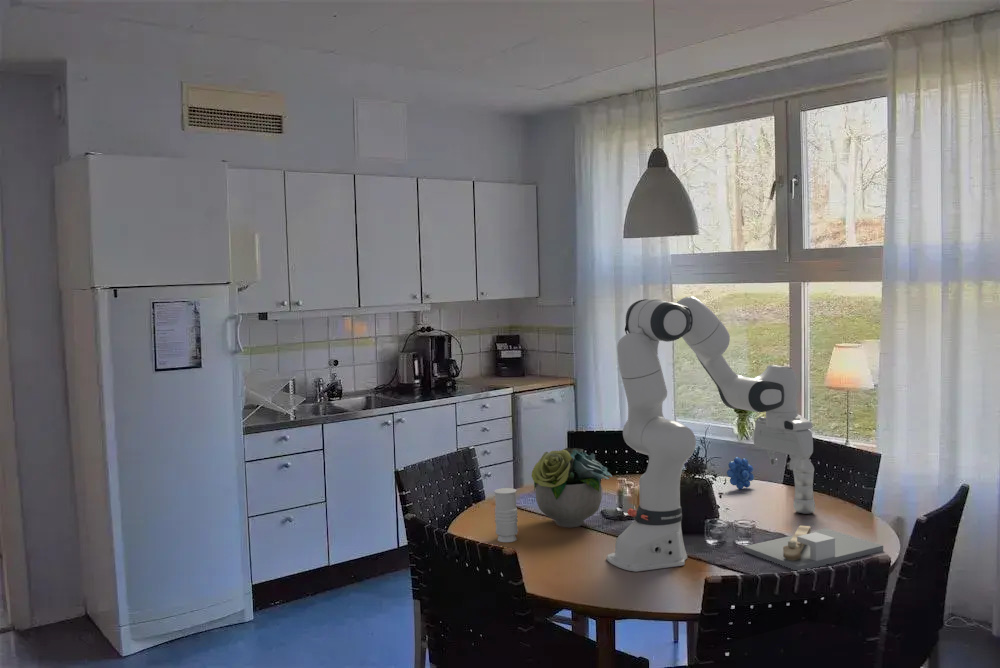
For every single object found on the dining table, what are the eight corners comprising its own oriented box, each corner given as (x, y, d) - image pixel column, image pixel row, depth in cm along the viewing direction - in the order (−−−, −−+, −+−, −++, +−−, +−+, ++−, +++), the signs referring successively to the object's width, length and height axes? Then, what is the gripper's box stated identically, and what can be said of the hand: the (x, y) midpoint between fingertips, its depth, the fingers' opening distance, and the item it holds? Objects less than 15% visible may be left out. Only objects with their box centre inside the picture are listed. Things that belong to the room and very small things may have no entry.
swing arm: (799, 560, 223) (799, 551, 223) (782, 558, 225) (781, 549, 225) (813, 534, 244) (813, 526, 244) (797, 533, 246) (797, 525, 246)
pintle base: (798, 572, 220) (797, 547, 220) (744, 551, 238) (743, 528, 238) (883, 550, 235) (883, 527, 234) (826, 533, 252) (825, 511, 252)
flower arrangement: (565, 509, 288) (563, 438, 287) (624, 522, 271) (622, 447, 269) (514, 526, 271) (511, 450, 270) (573, 541, 253) (571, 460, 252)
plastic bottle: (813, 516, 270) (812, 454, 269) (791, 514, 273) (790, 453, 272) (817, 511, 275) (816, 451, 274) (795, 509, 279) (794, 449, 278)
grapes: (735, 493, 302) (734, 460, 301) (723, 489, 308) (722, 457, 307) (761, 489, 306) (761, 456, 305) (749, 485, 312) (748, 453, 312)
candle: (506, 534, 262) (505, 486, 262) (523, 538, 257) (521, 490, 257) (490, 539, 258) (489, 491, 257) (507, 544, 253) (505, 494, 252)
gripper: (748, 416, 255) (749, 462, 256) (800, 426, 236) (800, 474, 237) (764, 414, 258) (764, 459, 258) (816, 423, 239) (817, 471, 240)
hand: (782, 467), depth 248 cm, fingers open, 5 cm apart
